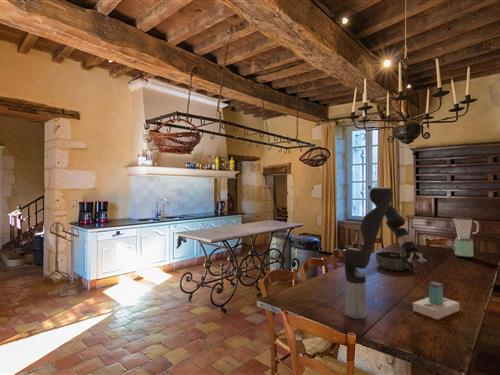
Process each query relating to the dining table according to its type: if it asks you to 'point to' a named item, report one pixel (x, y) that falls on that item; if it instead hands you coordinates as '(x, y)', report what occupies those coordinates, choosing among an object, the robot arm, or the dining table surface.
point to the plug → (436, 293)
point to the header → (436, 308)
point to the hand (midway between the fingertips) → (420, 269)
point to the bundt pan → (391, 261)
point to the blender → (464, 237)
